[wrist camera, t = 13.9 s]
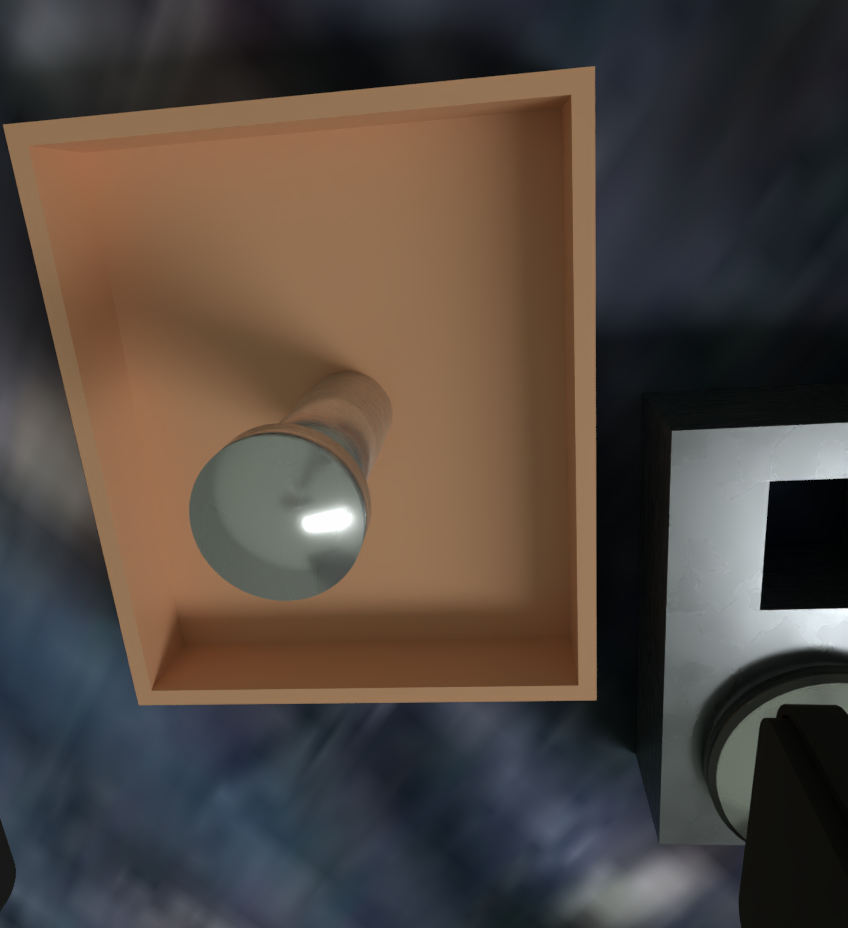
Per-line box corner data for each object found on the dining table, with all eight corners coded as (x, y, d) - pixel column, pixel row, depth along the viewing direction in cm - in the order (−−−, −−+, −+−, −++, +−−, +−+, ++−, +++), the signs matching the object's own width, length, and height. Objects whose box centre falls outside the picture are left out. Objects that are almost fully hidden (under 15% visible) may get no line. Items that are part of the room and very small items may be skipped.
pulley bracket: (642, 393, 34) (687, 451, 26) (947, 377, 33) (1095, 433, 25) (636, 754, 41) (671, 890, 33) (891, 754, 39) (993, 895, 31)
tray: (73, 136, 33) (2, 124, 28) (578, 87, 30) (595, 66, 26) (179, 647, 41) (138, 705, 36) (583, 639, 38) (596, 700, 34)
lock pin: (284, 358, 34) (174, 441, 22) (402, 352, 33) (353, 433, 22) (299, 471, 36) (204, 602, 24) (412, 466, 35) (371, 599, 23)
